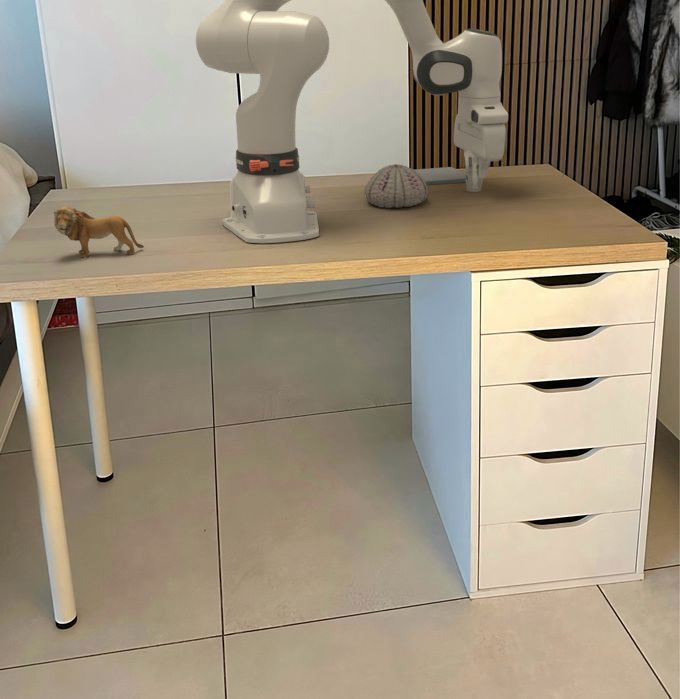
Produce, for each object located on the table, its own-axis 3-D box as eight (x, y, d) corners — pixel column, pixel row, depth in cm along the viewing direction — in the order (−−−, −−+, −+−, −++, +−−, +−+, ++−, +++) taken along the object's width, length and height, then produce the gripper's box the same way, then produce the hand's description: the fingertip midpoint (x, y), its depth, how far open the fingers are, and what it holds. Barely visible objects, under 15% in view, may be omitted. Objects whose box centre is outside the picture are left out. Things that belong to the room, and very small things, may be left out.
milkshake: (489, 192, 199) (491, 146, 195) (464, 193, 199) (466, 146, 195) (486, 188, 203) (488, 142, 199) (462, 188, 203) (463, 143, 199)
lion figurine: (59, 262, 158) (51, 211, 154) (59, 253, 163) (52, 204, 159) (145, 254, 162) (140, 204, 158) (142, 245, 166) (137, 197, 163)
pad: (471, 181, 209) (471, 178, 209) (417, 185, 206) (418, 182, 206) (451, 170, 221) (451, 166, 220) (400, 173, 218) (400, 170, 218)
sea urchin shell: (438, 207, 189) (439, 168, 185) (377, 214, 184) (377, 174, 181) (412, 193, 200) (412, 156, 197) (354, 199, 196) (354, 162, 193)
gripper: (447, 103, 203) (445, 165, 208) (483, 117, 184) (480, 185, 190) (474, 102, 204) (471, 164, 210) (512, 115, 186) (508, 182, 191)
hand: (476, 174), depth 200 cm, fingers open, 5 cm apart
